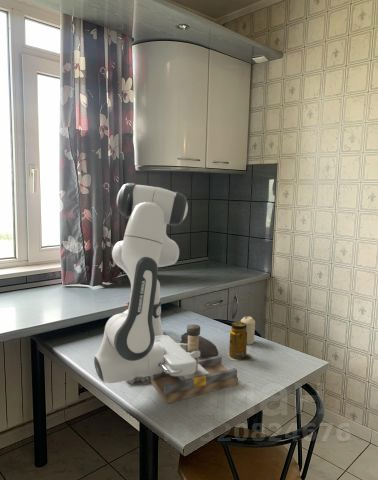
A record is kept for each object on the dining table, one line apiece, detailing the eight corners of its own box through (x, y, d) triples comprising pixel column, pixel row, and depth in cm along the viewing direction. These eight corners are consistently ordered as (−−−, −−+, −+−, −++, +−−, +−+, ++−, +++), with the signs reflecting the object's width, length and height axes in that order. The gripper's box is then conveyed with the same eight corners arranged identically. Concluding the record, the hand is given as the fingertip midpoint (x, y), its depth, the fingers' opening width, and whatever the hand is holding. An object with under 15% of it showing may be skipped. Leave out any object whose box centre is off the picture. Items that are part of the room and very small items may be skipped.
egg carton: (120, 368, 124) (120, 356, 123) (143, 365, 126) (143, 354, 125) (124, 385, 113) (124, 372, 113) (149, 381, 116) (149, 369, 115)
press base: (166, 403, 104) (166, 388, 104) (150, 382, 115) (150, 369, 114) (238, 384, 115) (238, 370, 115) (217, 366, 126) (218, 354, 125)
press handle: (185, 385, 109) (186, 333, 107) (175, 374, 115) (176, 325, 113) (209, 379, 113) (211, 329, 111) (198, 369, 119) (199, 321, 117)
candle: (237, 342, 146) (238, 317, 144) (243, 337, 150) (244, 313, 149) (250, 346, 143) (251, 320, 141) (256, 341, 147) (257, 316, 146)
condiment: (226, 351, 137) (227, 320, 136) (249, 351, 138) (250, 320, 136) (230, 361, 130) (232, 328, 128) (254, 360, 131) (256, 328, 129)
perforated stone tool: (221, 359, 131) (222, 340, 130) (213, 364, 127) (214, 345, 126) (188, 347, 140) (188, 329, 139) (179, 351, 136) (179, 333, 135)
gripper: (167, 363, 97) (213, 353, 104) (140, 334, 115) (181, 327, 122) (167, 386, 98) (212, 375, 105) (140, 354, 116) (180, 346, 123)
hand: (195, 349), depth 113 cm, fingers closed on press handle, 3 cm apart
